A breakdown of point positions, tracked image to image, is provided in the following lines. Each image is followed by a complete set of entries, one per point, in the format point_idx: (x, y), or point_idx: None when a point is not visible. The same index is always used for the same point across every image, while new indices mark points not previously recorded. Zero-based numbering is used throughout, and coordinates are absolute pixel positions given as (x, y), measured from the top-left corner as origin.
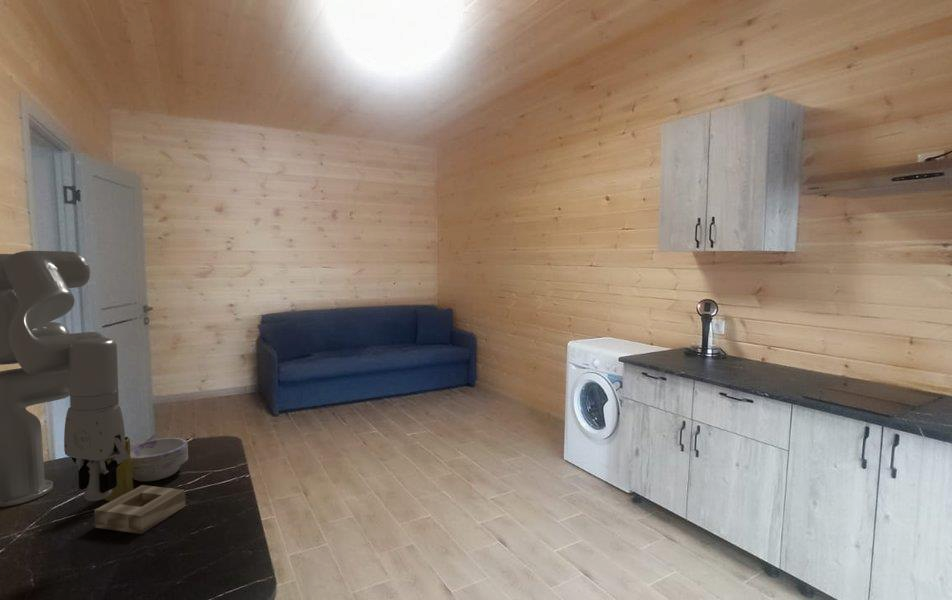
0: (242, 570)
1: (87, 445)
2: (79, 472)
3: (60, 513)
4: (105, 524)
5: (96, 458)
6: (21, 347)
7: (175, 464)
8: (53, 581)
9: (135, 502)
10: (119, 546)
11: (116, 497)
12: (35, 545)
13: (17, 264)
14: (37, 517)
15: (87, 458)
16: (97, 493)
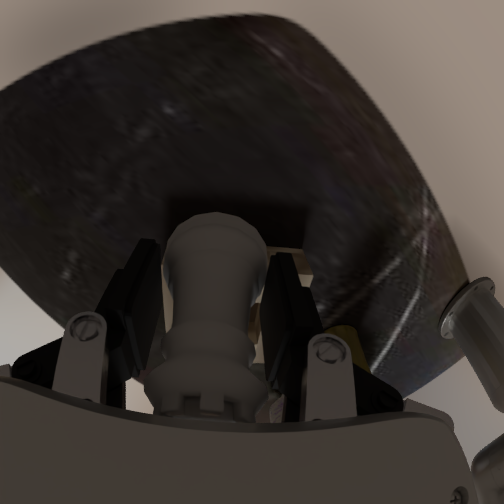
0: None
1: None
2: (302, 319)
3: (400, 281)
4: (275, 252)
5: (8, 404)
6: None
7: (273, 408)
8: (217, 48)
9: (258, 321)
10: (177, 188)
11: (330, 333)
12: (378, 178)
13: None
14: (427, 265)
15: (123, 430)
16: (176, 238)
